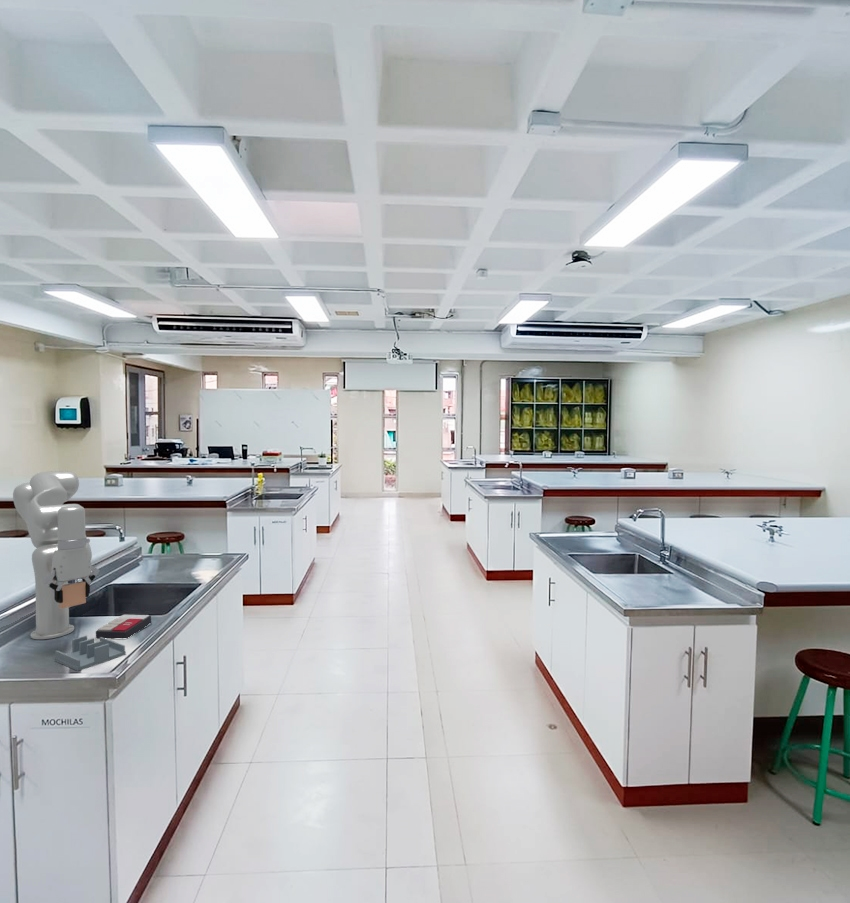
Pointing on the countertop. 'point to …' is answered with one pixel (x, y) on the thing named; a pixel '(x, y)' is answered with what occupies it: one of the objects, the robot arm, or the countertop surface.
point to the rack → (89, 653)
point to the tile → (73, 594)
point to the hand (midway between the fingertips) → (72, 598)
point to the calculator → (123, 626)
